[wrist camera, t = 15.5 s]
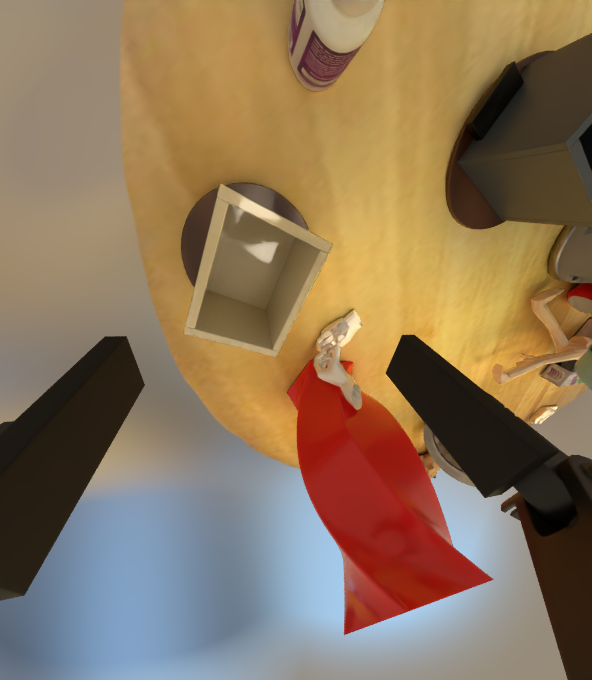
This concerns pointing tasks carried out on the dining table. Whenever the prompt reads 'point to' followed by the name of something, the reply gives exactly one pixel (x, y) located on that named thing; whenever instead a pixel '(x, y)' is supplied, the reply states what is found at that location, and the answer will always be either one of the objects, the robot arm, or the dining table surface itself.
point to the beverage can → (581, 297)
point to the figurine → (444, 457)
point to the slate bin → (537, 140)
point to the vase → (375, 504)
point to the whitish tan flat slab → (542, 414)
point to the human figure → (562, 345)
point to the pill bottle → (328, 37)
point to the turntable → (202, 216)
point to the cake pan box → (567, 364)
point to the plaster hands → (334, 368)
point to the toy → (430, 465)
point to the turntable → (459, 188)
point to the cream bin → (252, 275)
